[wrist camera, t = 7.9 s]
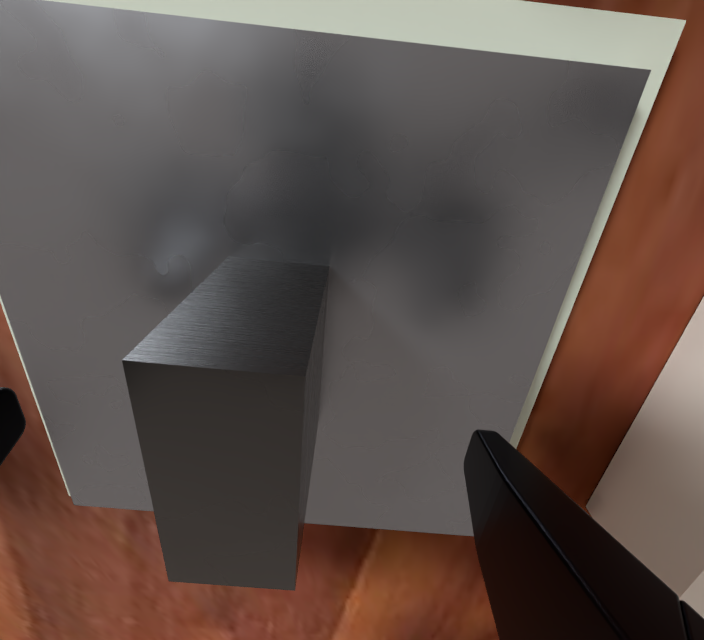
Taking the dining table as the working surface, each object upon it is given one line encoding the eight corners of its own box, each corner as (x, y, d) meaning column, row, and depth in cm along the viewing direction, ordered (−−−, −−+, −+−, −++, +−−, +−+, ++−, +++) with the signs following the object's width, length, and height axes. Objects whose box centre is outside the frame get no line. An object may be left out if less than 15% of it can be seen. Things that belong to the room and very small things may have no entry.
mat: (664, 27, 8) (686, 20, 8) (479, 514, 15) (484, 528, 15) (-100, -63, 8) (-134, -78, 7) (79, 482, 15) (68, 495, 14)
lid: (618, 76, 8) (1025, -6, 3) (466, 511, 14) (522, 709, 9) (-56, -1, 8) (-796, -232, 3) (92, 480, 14) (-53, 671, 9)
